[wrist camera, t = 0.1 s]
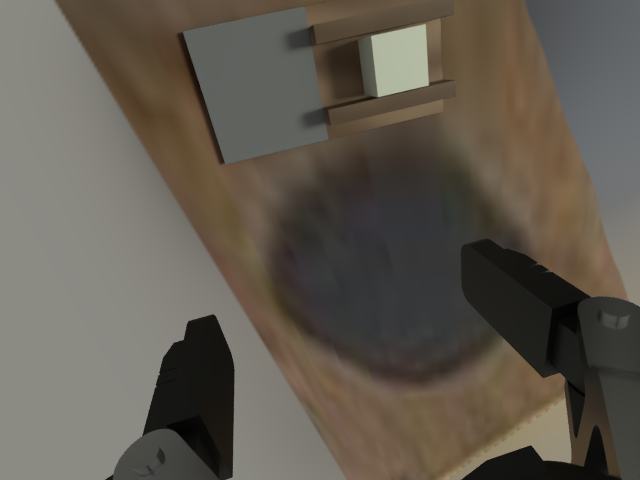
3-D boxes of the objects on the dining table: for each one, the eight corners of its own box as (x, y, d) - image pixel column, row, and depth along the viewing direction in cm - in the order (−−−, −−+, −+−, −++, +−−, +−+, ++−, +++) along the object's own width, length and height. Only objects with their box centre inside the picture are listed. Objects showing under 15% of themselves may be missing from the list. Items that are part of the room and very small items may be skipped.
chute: (303, 7, 33) (309, 1, 30) (435, -21, 34) (453, -29, 31) (327, 138, 38) (334, 143, 36) (440, 110, 39) (455, 113, 37)
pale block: (357, 39, 34) (371, 35, 31) (406, 28, 35) (425, 24, 31) (364, 94, 37) (378, 97, 33) (410, 84, 37) (428, 85, 33)
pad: (183, 32, 32) (182, 31, 31) (303, 7, 33) (304, 6, 32) (225, 163, 37) (225, 164, 37) (327, 138, 38) (328, 139, 38)
